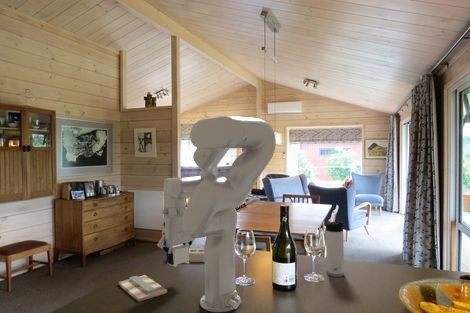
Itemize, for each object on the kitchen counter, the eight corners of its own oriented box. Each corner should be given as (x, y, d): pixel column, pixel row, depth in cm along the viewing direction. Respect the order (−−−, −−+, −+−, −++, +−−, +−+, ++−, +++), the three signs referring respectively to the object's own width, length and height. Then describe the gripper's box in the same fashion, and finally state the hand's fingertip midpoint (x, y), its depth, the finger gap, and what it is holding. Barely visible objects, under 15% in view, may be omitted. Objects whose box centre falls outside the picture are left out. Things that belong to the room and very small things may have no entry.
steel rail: (155, 292, 108) (155, 289, 108) (148, 294, 107) (148, 291, 107) (136, 278, 121) (136, 275, 121) (129, 280, 119) (129, 277, 119)
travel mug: (339, 278, 119) (338, 224, 119) (323, 273, 124) (322, 221, 124) (347, 274, 123) (347, 221, 123) (332, 269, 128) (331, 219, 128)
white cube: (189, 263, 118) (188, 246, 118) (175, 267, 114) (174, 250, 114) (180, 260, 122) (179, 244, 123) (167, 263, 119) (166, 247, 119)
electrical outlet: (171, 248, 149) (210, 248, 148) (171, 257, 149) (210, 257, 148) (166, 253, 142) (208, 253, 140) (167, 262, 142) (208, 262, 141)
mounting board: (167, 292, 110) (167, 289, 110) (138, 301, 104) (138, 298, 104) (144, 277, 124) (144, 274, 124) (118, 284, 118) (118, 282, 118)
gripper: (158, 216, 110) (161, 270, 110) (201, 209, 121) (203, 258, 121) (149, 214, 116) (151, 265, 116) (190, 207, 127) (193, 254, 127)
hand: (178, 261), depth 118 cm, fingers closed on white cube, 5 cm apart
